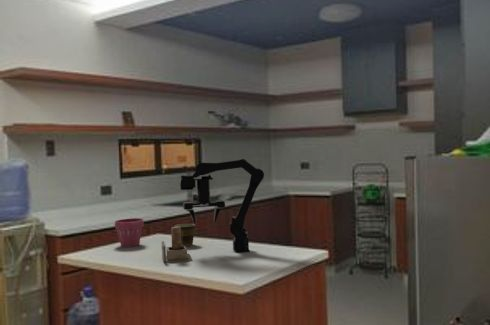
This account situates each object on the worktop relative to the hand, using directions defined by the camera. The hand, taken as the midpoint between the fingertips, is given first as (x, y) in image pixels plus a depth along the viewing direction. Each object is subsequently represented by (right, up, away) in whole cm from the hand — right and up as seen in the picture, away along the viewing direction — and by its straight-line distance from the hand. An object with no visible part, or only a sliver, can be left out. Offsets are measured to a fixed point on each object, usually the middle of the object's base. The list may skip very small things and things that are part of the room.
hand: (204, 223), depth 221 cm
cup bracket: (-11, -14, -13) cm, 22 cm away
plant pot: (-40, -14, +23) cm, 48 cm away
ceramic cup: (-12, -13, +17) cm, 25 cm away
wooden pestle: (-11, -13, -13) cm, 21 cm away
